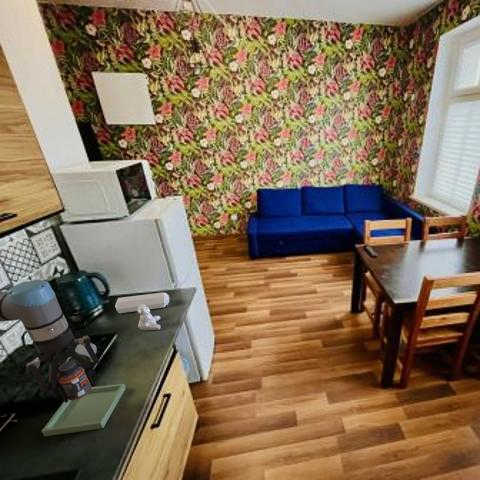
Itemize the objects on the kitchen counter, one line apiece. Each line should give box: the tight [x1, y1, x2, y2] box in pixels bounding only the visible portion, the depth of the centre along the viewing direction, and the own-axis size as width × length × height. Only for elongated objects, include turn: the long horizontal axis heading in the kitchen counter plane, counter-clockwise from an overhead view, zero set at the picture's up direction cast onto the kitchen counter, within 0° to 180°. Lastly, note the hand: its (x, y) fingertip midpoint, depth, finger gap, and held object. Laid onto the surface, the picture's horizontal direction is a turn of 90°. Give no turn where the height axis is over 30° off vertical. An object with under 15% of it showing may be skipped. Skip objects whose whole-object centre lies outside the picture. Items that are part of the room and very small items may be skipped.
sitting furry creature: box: [136, 304, 162, 332], centre depth 119 cm, size 10×9×12 cm
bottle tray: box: [41, 383, 127, 437], centre depth 85 cm, size 16×14×2 cm
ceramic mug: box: [65, 342, 98, 365], centre depth 100 cm, size 11×8×8 cm
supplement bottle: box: [57, 360, 93, 400], centre depth 80 cm, size 6×6×11 cm
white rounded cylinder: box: [114, 292, 170, 314], centre depth 133 cm, size 7×7×24 cm
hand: (79, 391), depth 82 cm, fingers closed on supplement bottle, 6 cm apart
